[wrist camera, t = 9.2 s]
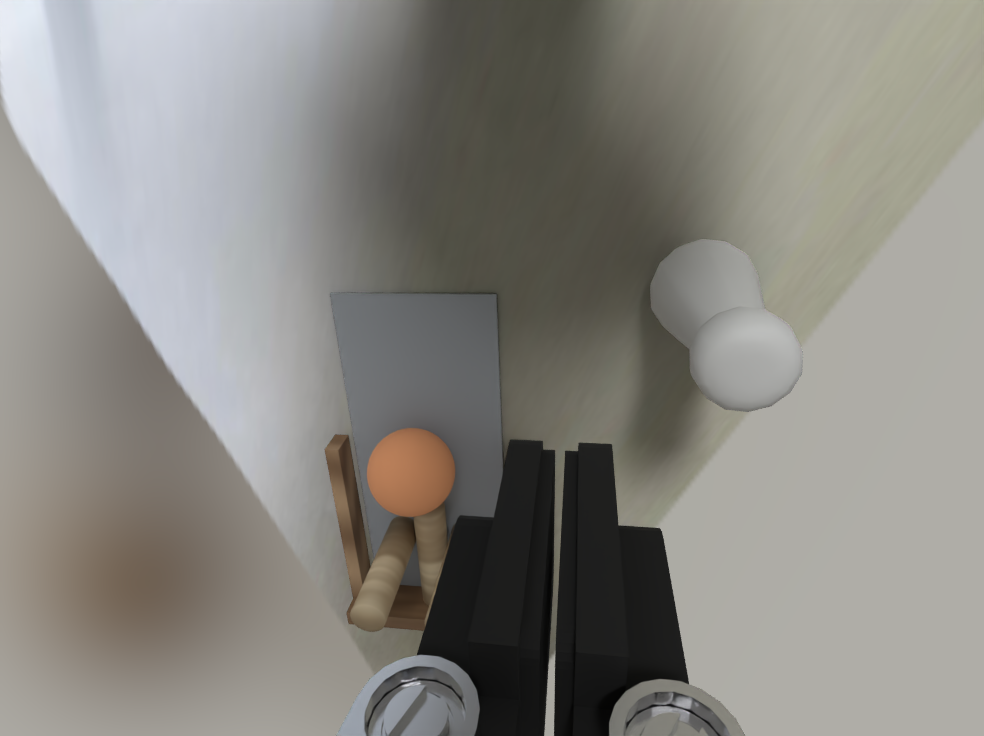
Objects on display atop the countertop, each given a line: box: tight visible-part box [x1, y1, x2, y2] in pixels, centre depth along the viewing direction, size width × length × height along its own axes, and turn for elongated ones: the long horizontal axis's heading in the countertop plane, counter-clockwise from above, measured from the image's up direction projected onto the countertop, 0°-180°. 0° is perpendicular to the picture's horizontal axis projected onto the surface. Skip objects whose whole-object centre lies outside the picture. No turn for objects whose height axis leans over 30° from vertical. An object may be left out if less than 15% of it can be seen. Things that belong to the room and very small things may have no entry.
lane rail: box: [325, 435, 508, 631], centre depth 44 cm, size 16×14×4 cm
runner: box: [330, 293, 503, 586], centre depth 43 cm, size 26×11×1 cm, turn 2°
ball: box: [367, 428, 455, 517], centre depth 40 cm, size 6×6×6 cm
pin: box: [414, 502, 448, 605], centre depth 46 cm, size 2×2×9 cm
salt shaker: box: [650, 239, 803, 412], centre depth 29 cm, size 6×6×13 cm
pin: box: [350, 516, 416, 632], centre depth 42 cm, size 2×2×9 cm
